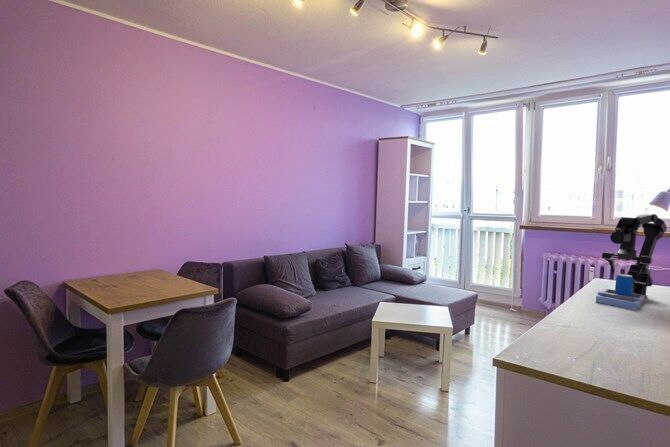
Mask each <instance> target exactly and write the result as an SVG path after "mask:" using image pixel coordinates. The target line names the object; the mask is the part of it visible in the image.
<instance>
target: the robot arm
mask: <svg viewBox="0 0 670 447" xmlns="http://www.w3.org/2000/svg"><path fill="white" fill-rule="evenodd" d="M641 227H642V229H643V233H644V240H643V243H642V245H641V249H640V252H639V254H638V253H637V250H636V243H637V242H636V241H637V234H639V231H638V230H639V228H641ZM614 228H615V229H614V230H615V231H613V232H612V233H611V235H610V238H609V239H610V240H611V242H612V243H613V244H614V245H615V244H617V245H619V244H620V245H619V249H618V251H617V253H615V252H614V251H604V252H602V253H601V258H602V259H604V260H605V261H607V263H608V264H609V267H610V269H611V273H612V274H613V275H614V274H615V271H616V270H615V267H616V266H615V264H616V262H615V259H617V260H625V261H636V263H634V264H633V263H632V264H631V265H630V266H629V269H628V271H627V273H626V274H627V275H631V276H632V278H633V286H632V293H635V294H641V295H645V298H644V299H647V298H648V297H647V296H648V295H647V288H648V287H652V286H653V278H652V277H651V271H650V269H649V265H651V264H652V263H653V261H654V260H653V259H654V258H653V253H654V250H655V248H656V245H657V241H659V240H660V239H661V238H663V237H664V235H665V233H666V231H667V230H668V229H667V224H666V222H665V221H664V220H663V219H661V218H660V217H658V214H656V213H642V214H639V215H635V216H630V215H629V216H627V215H625V216H624V215H622V216H621V217H620V218H619V219H618V223H617V225H616V226H615V227H614ZM637 254H638V256H637Z"/></svg>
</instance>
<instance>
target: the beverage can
mask: <svg viewBox="0 0 670 447" xmlns="http://www.w3.org/2000/svg"><path fill="white" fill-rule="evenodd" d="M614 286H615V287H614V290H615V294H619V295H624V296H630V297H631V296H632V286H633V278H632V276H631V275H627V273H617V275H616V277H615V285H614Z"/></svg>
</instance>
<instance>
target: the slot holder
mask: <svg viewBox="0 0 670 447" xmlns="http://www.w3.org/2000/svg"><path fill="white" fill-rule="evenodd" d="M645 299H646V298H645V295H641V294H635V293H632V296H631V297H630V296H624V295H619V294H615V289H610V288H606V289H604V290H603V291H598V292H597V295H595V303H598V302H599V303H598V304H603V303H604V304H603V305H608V304H609V305H608V306H613V305H614V306H615V307H620V308H623V309H624V308H625V309H629V310H635V311H636V310H638V309H639V307H641V305H642V304H643V303H644V302H645Z"/></svg>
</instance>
